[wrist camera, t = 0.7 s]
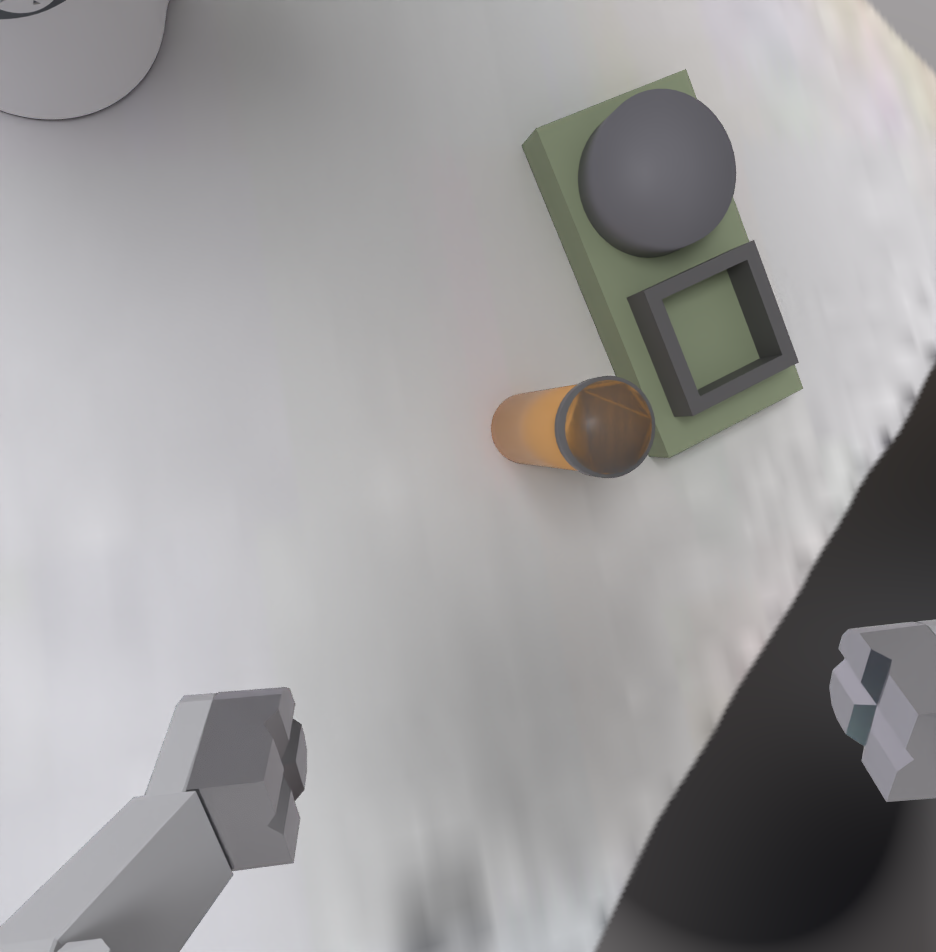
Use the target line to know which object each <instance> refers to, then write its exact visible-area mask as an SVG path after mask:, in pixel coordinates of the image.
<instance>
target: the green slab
mask: <svg viewBox="0 0 936 952" xmlns="http://www.w3.org/2000/svg"><path fill="white" fill-rule="evenodd" d="M522 147H523V150H524V152H525V155H526V157H527V160H528V162H529V164H530V167H531V169H532V172H533V174H534V177H535V179H536V182H537V184H538V186H539V189H540V191H541V194H542V196H543V199H544V201H545V204H546V206H547V208H548V211H549V213H550V216H551V218H552V221H553V223H554V226H555V228H556V230H557V233H558V235H559V238H560V240H561V243H562V245H563V247H564V250H565V252H566V255H567V257H568V260H569V262H570V265H571V267H572V269H573V272H574V274H575V277H576V279H577V282H578V284H579V287H580V289H581V291H582V294H583V296H584V299H585V301H586V304H587V306H588V309H589V311H590V313H591V316H592V318H593V321H594V323H595V326H596V328H597V331H598V333H599V335H600V338H601V340H602V343H603V345H604V348H605V350H606V352H607V355H608V357H609V360H610V362H611V365H612V367H613V370H614V372H615V374H616V377H620V378H623V379H626V380H628V381H630V382H632V383H633V384H635V385H636V386H637V387H638V388H639V389H640V390H641V391H642V392H643V393H644V394H645V395H646V397H647V399H648V400H649V402H650V404H651V406H652V409H653V412H654V417H655V436H654V440H653V444H652V447H651V449H650V451H649V453H648V455H649V457H664V458H670V457H672V456H674V455H676V454H678V453H680V452H682V451H684V450H686V449H687V448H689V447H691V446H693V445H695V444H697V443H699V442H701V441H703V440H705V439H707V438H709V437H711V436H713V435H714V434H716V433H718V432H720V431H722V430H724V429H726V428H728V427H730V426H732V425H734V424H736V423H738V422H739V421H741V420H743V419H745V418H747V417H749V416H751V415H753V414H755V413H757V412H759V411H761V410H763V409H764V408H766V407H768V406H770V405H772V404H774V403H776V402H778V401H780V400H782V399H784V398H786V397H788V396H789V395H791V394H793V393H795V392H797V391H799V390H801V389H803V387H802V384H801V381H800V378H799V376H798V373H797V370H796V368H795V365H794V364H796V363H798V359H797V356H796V354H795V351H794V348H793V345H792V343H791V340H790V337H789V335H788V332H787V329H786V326H785V324H784V321H783V318H782V315H781V313H780V310H779V307H778V304H777V302H776V299H775V296H774V294H773V291H772V288H771V285H770V283H769V280H768V277H767V274H766V272H765V269H764V266H763V264H762V261H761V258H760V255H759V253H758V250H757V247H756V244H755V242H754V240H753V241H750V242H749V240H748V237H747V234H746V231H745V229H744V226H743V223H742V221H741V218H740V215H739V212H738V210H737V207H736V204H735V201H734V199H733V194H734V189H735V183H736V165H735V157H734V152H733V149H732V145H731V142H730V140H729V137H728V135H727V133H726V131H725V129H724V127H723V126H722V124H721V122H720V121H719V120H718V118H717V117H716V116H715V115H714V113H713V112H712V111H711V110H710V109H709V108H708V107H706V106H705V105H704V104H703V103H702V102H700V101H699V100H697V98H696V95H695V93H694V90H693V87H692V84H691V82H690V79H689V76H688V74H687V71H686V69H685V70H683V71H680V72H678V73H675V74H673V75H670V76H667V77H665V78H662V79H660V80H657V81H655V82H652V83H650V84H647V85H645V86H642V87H640V88H637V89H635V90H632V91H630V92H627V93H625V94H622V95H619V96H617V97H614V98H612V99H609V100H607V101H604V102H602V103H599V104H597V105H594V106H592V107H589V108H587V109H584V110H582V111H579V112H577V113H574V114H571V115H569V116H566V117H564V118H561V119H559V120H556V121H554V122H551V123H549V124H546V125H544V126H541V127H539V128H536V129H535V130H534V132H533V133H532V134H531V135H530V136H529V138H528V139H527V140H526V141H525V142H524V144H523V145H522Z"/></svg>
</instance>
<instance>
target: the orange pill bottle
mask: <svg viewBox="0 0 936 952" xmlns="http://www.w3.org/2000/svg"><path fill="white" fill-rule="evenodd" d="M491 432H492V438H493V441H494V444H495V446H496V448H497V449H498V450H499V452H500V453H501V454H502V455H503V456H504V457H506V458H507V459H509V460H511V461H513V462H516V463H522V464H530V465H538V466H545V467H553V468H561V469H569V470H576V471H579V472H581V473H583V474H586V475H589V476H595V477H601V478H614V477H619V476H623V475H625V474H627V473H629V472H631V471H632V470H634V469H635V468H636V467H638V466H639V465H640V464H641V463H642V462H643V460H644V459H645V458H646V456H647V455H648V453H649V451H650V449H651V447H652V444H653V440H654V436H655V417H654V412H653V409H652V406H651V404H650V402H649V400H648V399H647V397H646V395H645V394H644V393H643V392H642V391H641V390H640V389H639V388H638V387H637V386H636V385H635V384H633V383H632V382H630V381H628V380H626V379H623V378H620V377H615V376H603V377H597V378H592V379H588V380H585V381H583V382H581V383H579V384H577V385H571V386H565V387H559V388H553V389H546V390H540V391H534V392H528V393H522V394H517V395H514V396H511V397H509V398H507V399H506V400H505V401H503V402H502V403H501V404H500V406H499V407H498V408H497V410H496V412H495V414H494V416H493V419H492V425H491Z"/></svg>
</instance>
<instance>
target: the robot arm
mask: <svg viewBox="0 0 936 952" xmlns="http://www.w3.org/2000/svg"><path fill="white" fill-rule="evenodd" d="M168 2H169V0H0V110H1V111H4V112H7V113H10V114H14V115H18V116H23V117H28V118H36V119H67V118H74V117H79V116H83V115H87V114H90V113H94V112H96V111H99V110H102V109H104V108H106V107H108V106H110V105H112V104H113V103H115V102H117V101H118V100H120V99H121V98H123V97H124V96H126V95H127V94H128V93H129V92H130V91H132V90H133V89H134V88H135V87H136V86H137V85H138V84H139V82H140V81H141V80H142V79H143V78H144V76H145V75H146V74H147V72H148V71H149V69H150V67H151V66H152V64H153V62H154V60H155V58H156V56H157V53H158V51H159V48H160V45H161V42H162V38H163V33H164V27H165V19H166V12H167V7H168ZM839 650H840V651H841V653H842V655H843V656H844V658H845V659H844V660H843V661H842V662H841V663H840V664H839V665H838V666H837V667H836V668H835V669H834V670H833V671H832V676H831V681H830V686H829V687H830V695H831V702H832V707H833V709H834V712H835V715H836V717H837V720H838V721H839V723H840V725H841V727H842V728H843V730H844V732H845V734H846V735H848V736H849V737H851V738H852V739H854V740H856V741H857V742H859V743H860V744H862V745H863V746H864V751H863V756H862V762H863V764H864V765H865V767H866V769H867V770H868V772H869V774H870V775H871V777H872V778H873V780H874V782H875V784H876V785H877V787H878V788H879V790H880V792H881V793H882V795H883V797H884V798H885V800H886V802H890V801H903V800H916V799H930V798H936V620H927V621H918V622H907V623H898V624H889V625H880V626H872V627H862V628H854V629H848V630H847V631H846V632H845V633H844V634H843V636H842V638H841V641H840V645H839ZM294 708H295V702H294V699H293V696H292V693H291V690H290V688H287V687H280V688H267V689H254V690H241V691H228V692H218V693H209V694H196V695H184V696H183V697H182V699H181V700H180V701H179V702H178V704H177V705H176V707H175V710H174V713H173V716H172V719H171V721H170V724H169V727H168V730H167V733H166V736H165V738H164V741H163V744H162V747H161V750H160V753H159V755H158V758H157V761H156V764H155V767H154V770H153V772H152V775H151V778H150V781H149V784H148V787H147V789H146V792H145V795H144V796H139V797H133V798H132V799H131V800H130V801H129V802H128V803H127V804H126V805H125V806H124V807H123V808H122V809H121V810H120V811H119V812H118V813H117V814H116V815H115V816H114V817H113V818H112V819H111V820H110V821H109V822H108V823H107V824H105V825H104V826H103V827H102V828H101V829H100V830H99V831H98V832H97V833H96V834H95V835H94V836H93V837H92V838H91V839H90V840H89V841H88V842H87V843H86V844H85V845H84V846H83V847H82V848H81V849H80V850H79V851H78V852H77V853H76V854H75V855H74V856H73V857H71V858H70V859H69V860H68V861H67V862H66V863H65V864H64V865H63V866H62V867H61V868H60V869H59V870H58V871H57V872H56V873H55V874H54V875H53V876H52V877H51V878H50V879H49V880H48V881H47V882H46V883H45V884H44V885H43V886H42V887H41V888H40V889H39V890H37V891H36V892H35V893H34V894H33V895H32V896H31V897H30V898H29V899H28V900H27V901H26V902H25V903H24V904H23V905H22V906H21V907H20V908H19V909H18V910H17V911H16V912H15V913H14V914H13V915H12V916H11V917H10V918H9V919H8V920H7V921H6V922H5V923H4V924H2V925H1V926H0V952H179V951H180V950H181V949H182V947H183V946H184V944H185V943H186V941H187V940H188V939H189V937H190V936H191V934H192V933H193V932H194V930H195V929H196V927H197V926H198V924H199V923H200V922H201V920H202V919H203V917H204V916H205V914H206V913H207V912H208V910H209V909H210V907H211V906H212V904H213V903H214V902H215V900H216V899H217V897H218V896H219V894H220V893H221V892H222V890H223V889H224V887H225V886H226V885H227V883H228V882H229V880H230V879H231V877H232V876H233V873H232V871H237V870H245V869H252V868H260V867H267V866H275V865H283V864H290V863H294V857H295V850H296V843H297V837H298V830H299V824H300V816H299V813H298V810H297V807H296V804H295V800H296V799H297V798H298V797H299V796H300V794H301V793H302V792H303V791H304V789H305V782H306V774H307V748H306V741H305V735H304V731H303V728H302V724H300V723H299V722H297V721H296V720H294V719H293V714H294Z"/></svg>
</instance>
